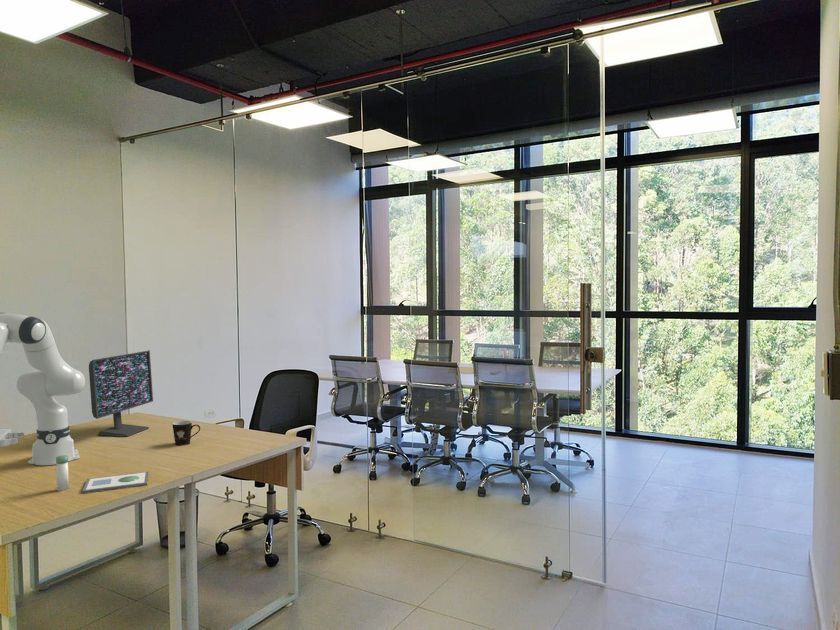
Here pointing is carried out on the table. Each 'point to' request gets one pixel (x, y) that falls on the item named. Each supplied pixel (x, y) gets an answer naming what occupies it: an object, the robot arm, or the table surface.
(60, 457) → the marker
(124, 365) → the computer monitor
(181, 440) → the coffee mug
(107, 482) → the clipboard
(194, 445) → the table surface
